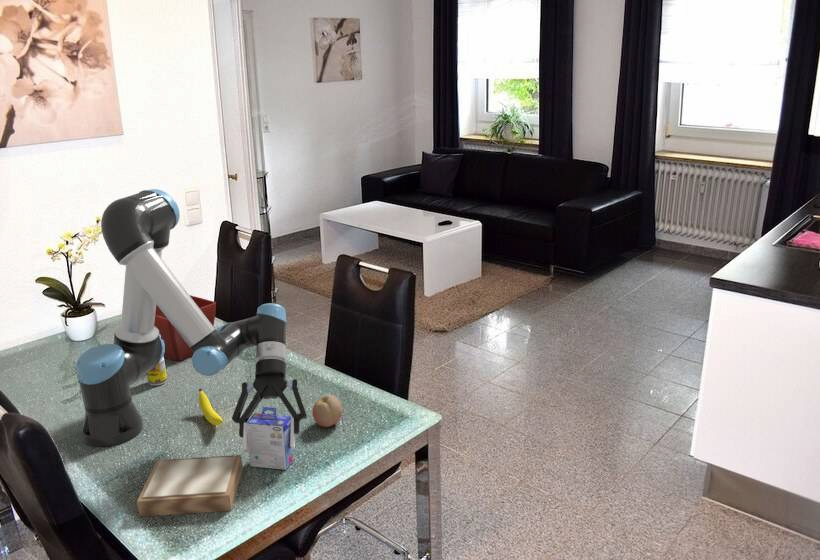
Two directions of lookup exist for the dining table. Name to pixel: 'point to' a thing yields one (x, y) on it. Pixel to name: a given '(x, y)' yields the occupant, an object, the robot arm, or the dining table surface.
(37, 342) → the dining table surface
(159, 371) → the supplement bottle
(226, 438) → the dining table surface
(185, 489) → the wooden box
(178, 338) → the plant pot
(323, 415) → the fruit
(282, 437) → the ink cartridge box
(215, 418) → the banana
